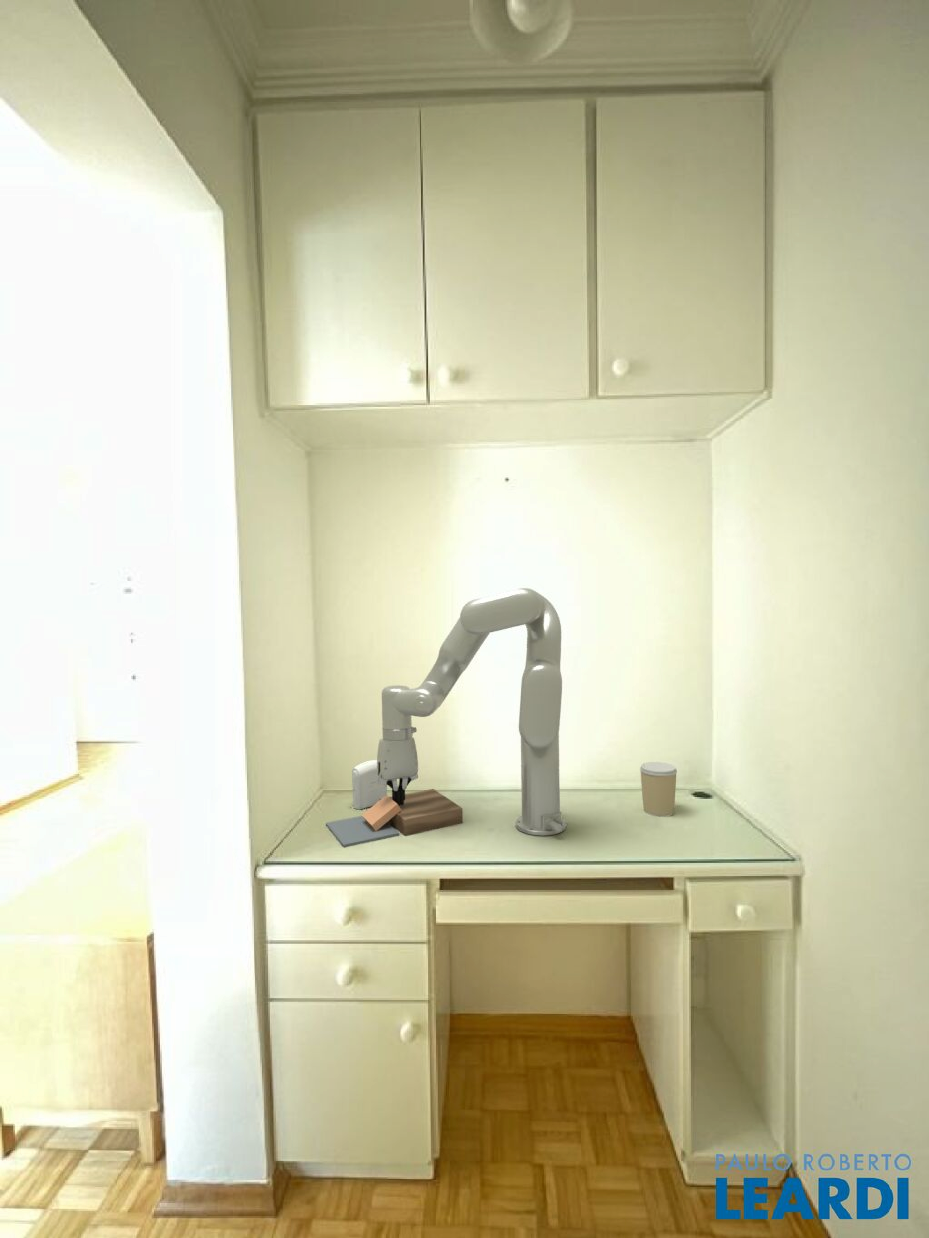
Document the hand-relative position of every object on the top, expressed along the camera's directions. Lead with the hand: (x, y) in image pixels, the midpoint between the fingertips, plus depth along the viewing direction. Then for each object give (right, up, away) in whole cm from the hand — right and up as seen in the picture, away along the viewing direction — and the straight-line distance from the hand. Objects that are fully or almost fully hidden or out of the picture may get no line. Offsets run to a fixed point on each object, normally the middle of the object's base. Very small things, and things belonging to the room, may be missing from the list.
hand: (398, 803), depth 157 cm
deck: (+5, -5, +3) cm, 8 cm away
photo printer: (-10, -5, +14) cm, 18 cm away
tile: (-4, -2, -2) cm, 5 cm away
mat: (-9, -5, -5) cm, 11 cm away
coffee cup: (+69, -3, +4) cm, 69 cm away
